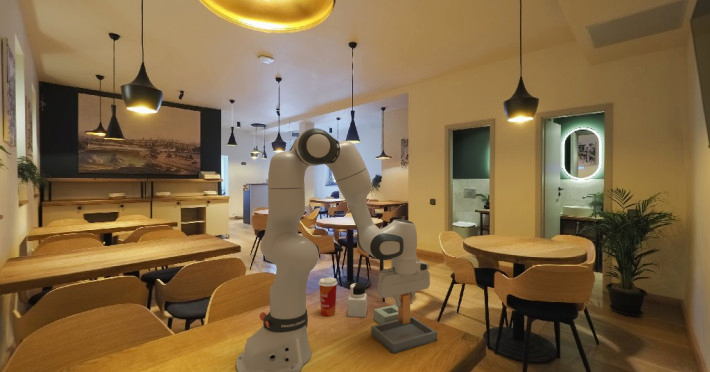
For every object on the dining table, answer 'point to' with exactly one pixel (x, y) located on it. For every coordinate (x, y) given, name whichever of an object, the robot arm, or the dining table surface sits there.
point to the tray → (403, 334)
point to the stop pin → (404, 309)
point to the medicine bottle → (357, 300)
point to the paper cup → (328, 296)
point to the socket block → (386, 314)
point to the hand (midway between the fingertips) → (404, 305)
